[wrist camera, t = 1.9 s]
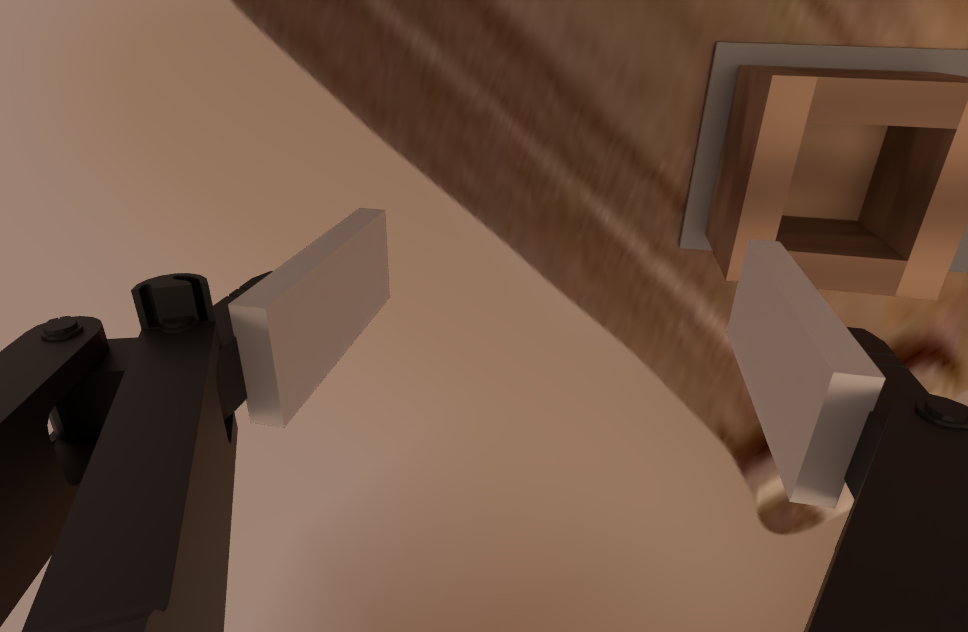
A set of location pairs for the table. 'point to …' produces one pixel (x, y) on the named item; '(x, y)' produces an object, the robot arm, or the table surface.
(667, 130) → the table surface
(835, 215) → the brown wooden box
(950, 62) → the backstop
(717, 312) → the table surface
